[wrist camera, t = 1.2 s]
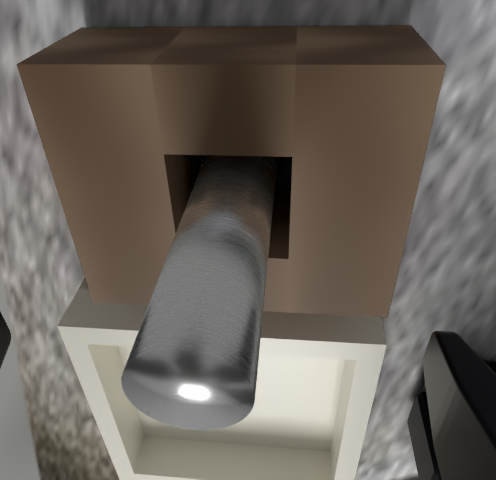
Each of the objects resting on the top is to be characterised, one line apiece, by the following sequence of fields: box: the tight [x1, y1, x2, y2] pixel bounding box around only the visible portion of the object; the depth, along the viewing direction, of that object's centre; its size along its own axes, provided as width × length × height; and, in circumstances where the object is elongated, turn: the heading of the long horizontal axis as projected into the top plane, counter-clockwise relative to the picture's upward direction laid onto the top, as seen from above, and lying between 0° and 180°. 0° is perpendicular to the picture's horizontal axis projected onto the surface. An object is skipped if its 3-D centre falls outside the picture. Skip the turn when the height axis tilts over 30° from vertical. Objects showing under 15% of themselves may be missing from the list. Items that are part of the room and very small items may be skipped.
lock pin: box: [121, 155, 278, 430], centre depth 12 cm, size 2×2×10 cm
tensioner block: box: [17, 25, 446, 318], centre depth 14 cm, size 10×8×4 cm
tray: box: [57, 278, 387, 480], centre depth 23 cm, size 13×13×3 cm
